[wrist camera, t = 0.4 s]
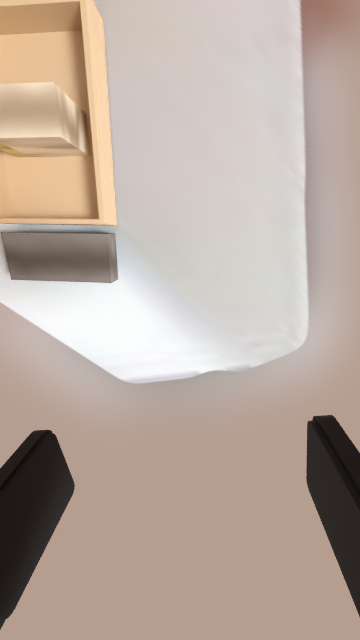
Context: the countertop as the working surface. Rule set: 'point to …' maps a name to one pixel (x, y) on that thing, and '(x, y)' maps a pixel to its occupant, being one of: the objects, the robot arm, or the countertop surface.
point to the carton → (82, 88)
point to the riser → (61, 256)
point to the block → (41, 122)
